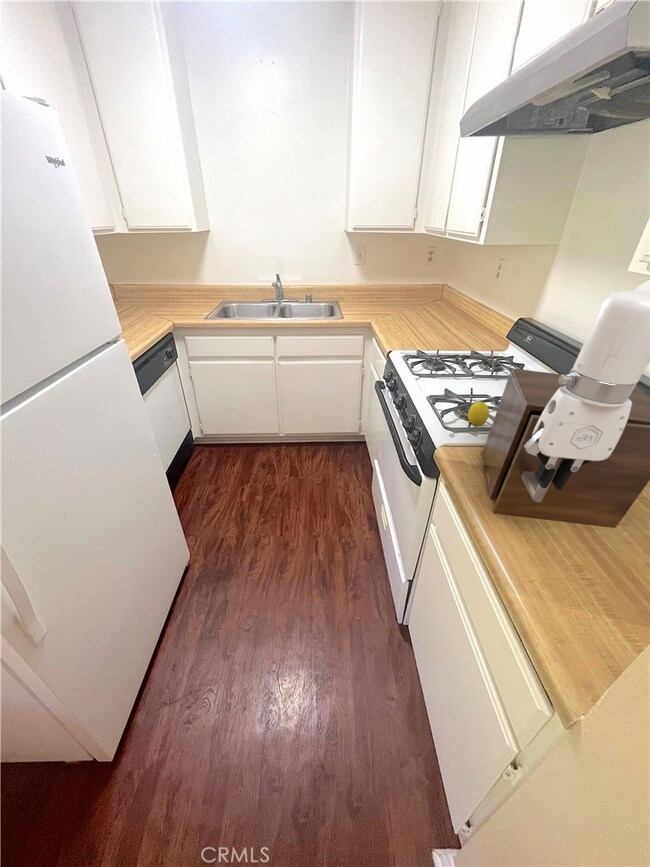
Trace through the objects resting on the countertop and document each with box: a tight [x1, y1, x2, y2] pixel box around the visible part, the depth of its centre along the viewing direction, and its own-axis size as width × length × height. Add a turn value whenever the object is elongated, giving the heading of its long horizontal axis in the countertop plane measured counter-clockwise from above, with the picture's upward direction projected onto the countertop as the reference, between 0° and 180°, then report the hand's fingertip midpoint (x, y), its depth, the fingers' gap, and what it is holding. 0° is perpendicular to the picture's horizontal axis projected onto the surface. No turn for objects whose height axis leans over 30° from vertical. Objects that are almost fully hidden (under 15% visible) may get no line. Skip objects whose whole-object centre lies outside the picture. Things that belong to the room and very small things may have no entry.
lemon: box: [467, 401, 490, 426], centre depth 101 cm, size 6×6×8 cm
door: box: [492, 415, 650, 529], centre depth 63 cm, size 8×24×24 cm, turn 82°
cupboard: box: [483, 368, 650, 501], centre depth 75 cm, size 18×24×24 cm
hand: (548, 483), depth 59 cm, fingers closed on door
